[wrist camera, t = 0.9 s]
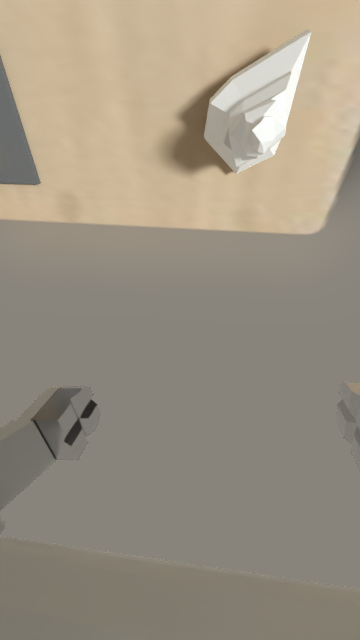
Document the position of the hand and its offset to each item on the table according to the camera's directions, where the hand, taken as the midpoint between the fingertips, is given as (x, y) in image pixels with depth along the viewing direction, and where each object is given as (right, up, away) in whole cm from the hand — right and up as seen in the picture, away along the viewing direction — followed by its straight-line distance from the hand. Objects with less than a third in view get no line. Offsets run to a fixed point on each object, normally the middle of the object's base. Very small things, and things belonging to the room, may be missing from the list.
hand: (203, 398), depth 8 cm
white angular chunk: (+10, +34, +31) cm, 47 cm away
